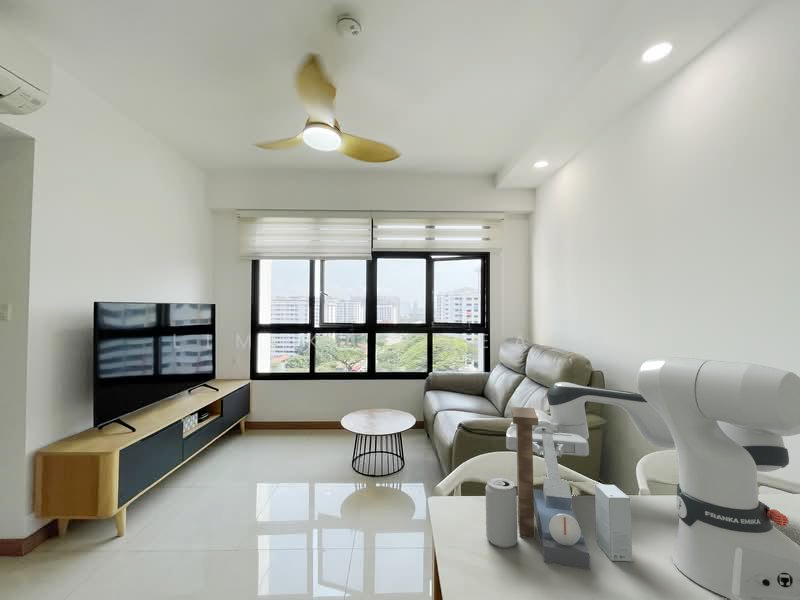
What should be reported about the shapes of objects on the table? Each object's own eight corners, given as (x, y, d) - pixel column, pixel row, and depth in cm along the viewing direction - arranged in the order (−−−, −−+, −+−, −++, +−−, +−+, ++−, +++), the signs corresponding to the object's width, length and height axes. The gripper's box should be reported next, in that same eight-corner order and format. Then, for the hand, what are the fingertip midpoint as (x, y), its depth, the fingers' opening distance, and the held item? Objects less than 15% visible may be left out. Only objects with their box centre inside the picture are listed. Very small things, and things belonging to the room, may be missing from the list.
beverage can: (519, 552, 72) (518, 490, 72) (486, 548, 73) (485, 487, 74) (515, 533, 78) (514, 477, 79) (485, 530, 79) (484, 474, 80)
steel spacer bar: (556, 441, 92) (557, 430, 91) (570, 510, 76) (572, 498, 75) (536, 440, 94) (536, 429, 92) (545, 507, 78) (546, 495, 76)
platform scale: (566, 509, 88) (566, 472, 88) (589, 569, 67) (588, 521, 67) (532, 505, 90) (531, 469, 90) (544, 562, 69) (543, 515, 69)
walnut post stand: (536, 522, 82) (533, 408, 84) (540, 546, 74) (538, 418, 75) (513, 519, 84) (511, 406, 85) (515, 542, 75) (513, 416, 76)
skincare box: (633, 562, 69) (631, 498, 69) (610, 561, 69) (608, 497, 70) (616, 542, 75) (614, 484, 75) (595, 541, 75) (593, 483, 76)
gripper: (582, 450, 98) (596, 470, 85) (505, 443, 103) (507, 462, 90) (582, 426, 99) (595, 443, 85) (505, 421, 104) (506, 436, 90)
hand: (549, 452), depth 88 cm, fingers closed on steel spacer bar, 2 cm apart
